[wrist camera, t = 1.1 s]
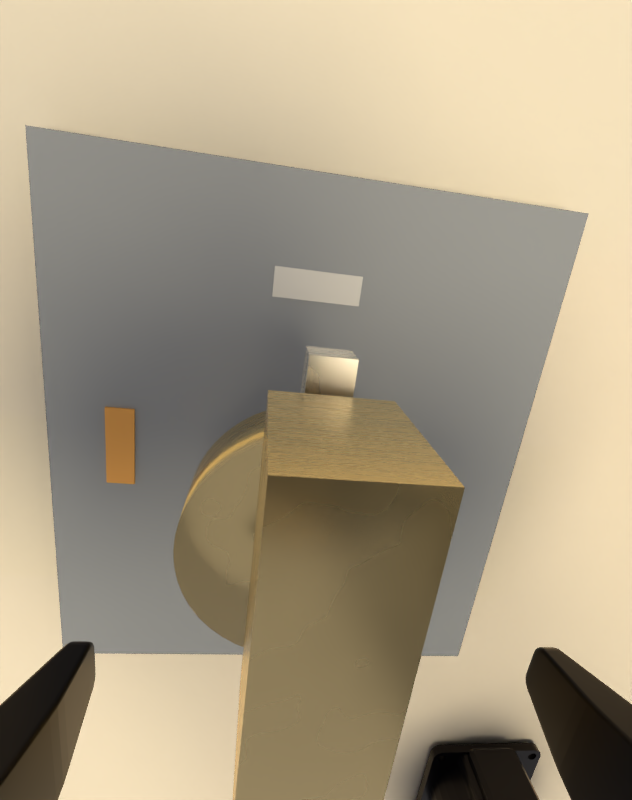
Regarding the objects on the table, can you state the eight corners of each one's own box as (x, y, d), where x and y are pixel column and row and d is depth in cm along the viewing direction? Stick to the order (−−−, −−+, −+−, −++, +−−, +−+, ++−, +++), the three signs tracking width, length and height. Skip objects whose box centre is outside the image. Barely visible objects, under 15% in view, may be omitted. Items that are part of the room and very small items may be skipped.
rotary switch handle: (387, 624, 16) (456, 848, 10) (183, 621, 15) (127, 866, 9) (446, 355, 13) (599, 449, 7) (194, 329, 12) (121, 412, 6)
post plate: (448, 635, 23) (489, 724, 18) (74, 630, 20) (23, 731, 16) (566, 215, 16) (669, 205, 12) (45, 135, 14) (-52, 87, 10)
